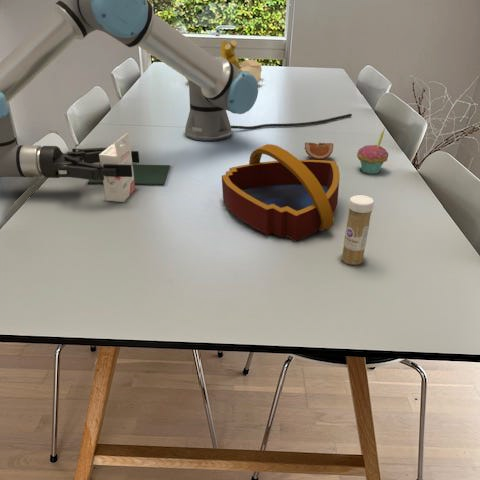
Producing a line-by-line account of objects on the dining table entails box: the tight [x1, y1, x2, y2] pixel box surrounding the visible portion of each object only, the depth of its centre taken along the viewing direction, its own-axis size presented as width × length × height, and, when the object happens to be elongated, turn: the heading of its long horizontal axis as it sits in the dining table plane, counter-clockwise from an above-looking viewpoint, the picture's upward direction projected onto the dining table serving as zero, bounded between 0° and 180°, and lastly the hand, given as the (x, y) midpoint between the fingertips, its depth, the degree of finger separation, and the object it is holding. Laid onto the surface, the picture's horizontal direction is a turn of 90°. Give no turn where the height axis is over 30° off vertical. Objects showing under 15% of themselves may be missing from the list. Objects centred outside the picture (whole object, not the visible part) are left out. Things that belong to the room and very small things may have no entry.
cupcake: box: [356, 128, 389, 175], centre depth 149 cm, size 9×8×12 cm
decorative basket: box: [221, 143, 340, 242], centre depth 127 cm, size 34×29×15 cm
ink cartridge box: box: [99, 132, 136, 203], centre depth 132 cm, size 9×5×15 cm, turn 169°
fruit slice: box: [304, 142, 334, 161], centre depth 159 cm, size 8×7×5 cm
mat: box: [87, 163, 171, 186], centre depth 147 cm, size 20×14×1 cm
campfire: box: [185, 39, 263, 84], centre depth 236 cm, size 35×34×17 cm
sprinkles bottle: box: [341, 194, 375, 266], centre depth 107 cm, size 5×5×13 cm
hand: (135, 163), depth 131 cm, fingers closed on ink cartridge box, 9 cm apart
